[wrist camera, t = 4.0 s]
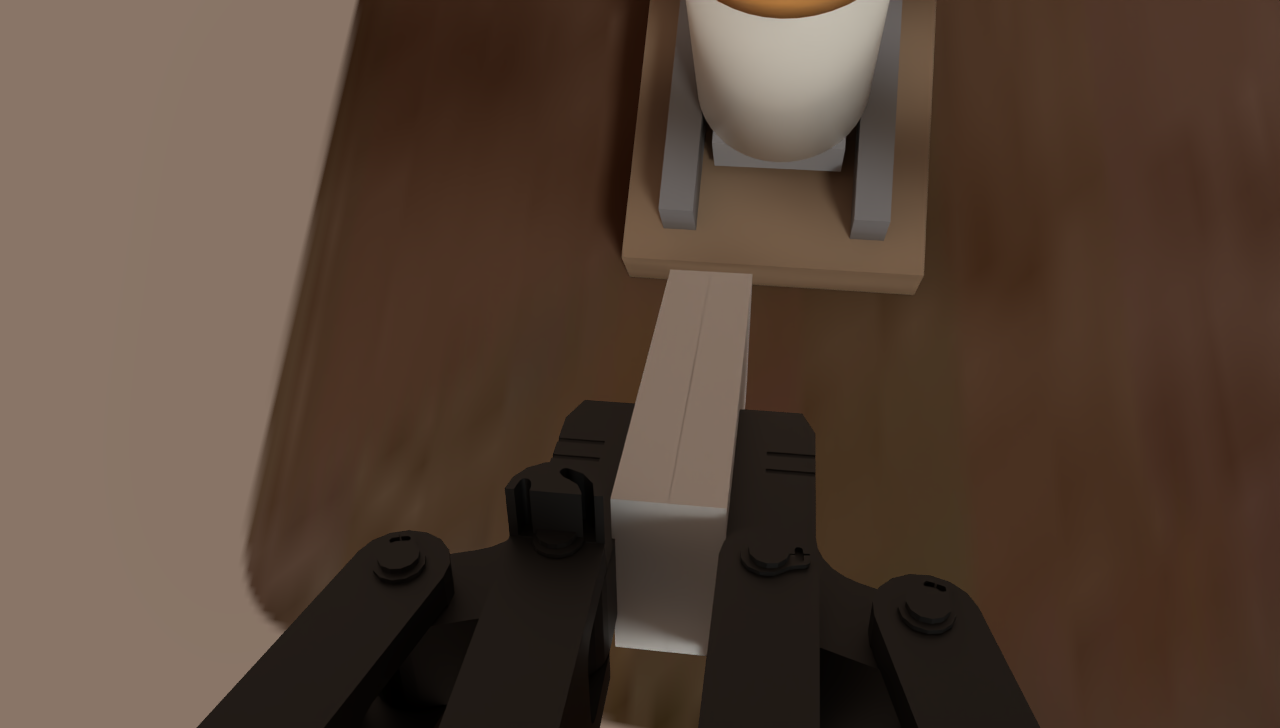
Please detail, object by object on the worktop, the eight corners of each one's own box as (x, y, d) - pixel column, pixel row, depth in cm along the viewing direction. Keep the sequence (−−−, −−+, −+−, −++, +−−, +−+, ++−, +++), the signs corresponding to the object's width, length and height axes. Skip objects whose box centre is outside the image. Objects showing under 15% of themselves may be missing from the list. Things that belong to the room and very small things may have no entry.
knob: (866, 195, 30) (919, -6, 20) (686, 185, 31) (649, -12, 21) (876, 31, 31) (930, -238, 21) (702, 25, 32) (674, -236, 22)
